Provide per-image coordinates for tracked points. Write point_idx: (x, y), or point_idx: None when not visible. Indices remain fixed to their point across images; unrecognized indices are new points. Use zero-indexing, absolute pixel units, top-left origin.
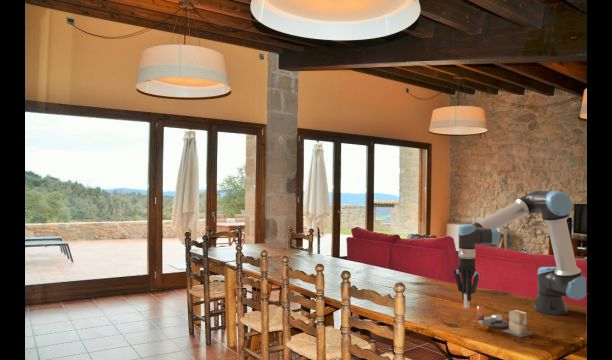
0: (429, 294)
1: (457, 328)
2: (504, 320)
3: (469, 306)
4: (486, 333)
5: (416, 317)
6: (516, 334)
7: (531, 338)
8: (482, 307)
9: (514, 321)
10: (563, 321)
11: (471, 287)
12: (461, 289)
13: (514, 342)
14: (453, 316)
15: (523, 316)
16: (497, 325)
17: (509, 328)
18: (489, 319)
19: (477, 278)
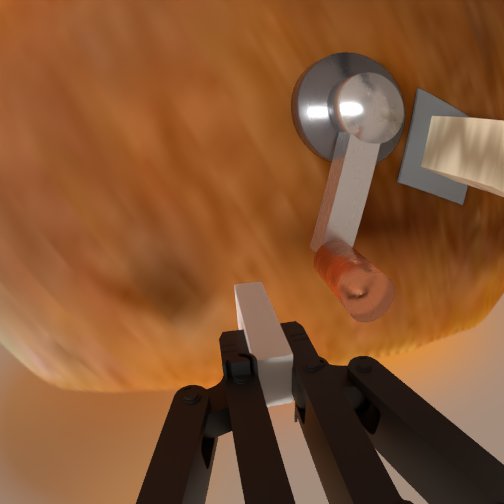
0: None
1: (222, 313)
2: (373, 63)
3: (262, 284)
4: None
5: (8, 325)
6: (450, 187)
7: None
8: (389, 305)
9: (478, 186)
10: None
11: (351, 413)
12: (223, 433)
13: (454, 266)
14: (70, 151)
15: None
16: (376, 161)
17: (431, 169)
18: (363, 201)
19: (494, 488)
